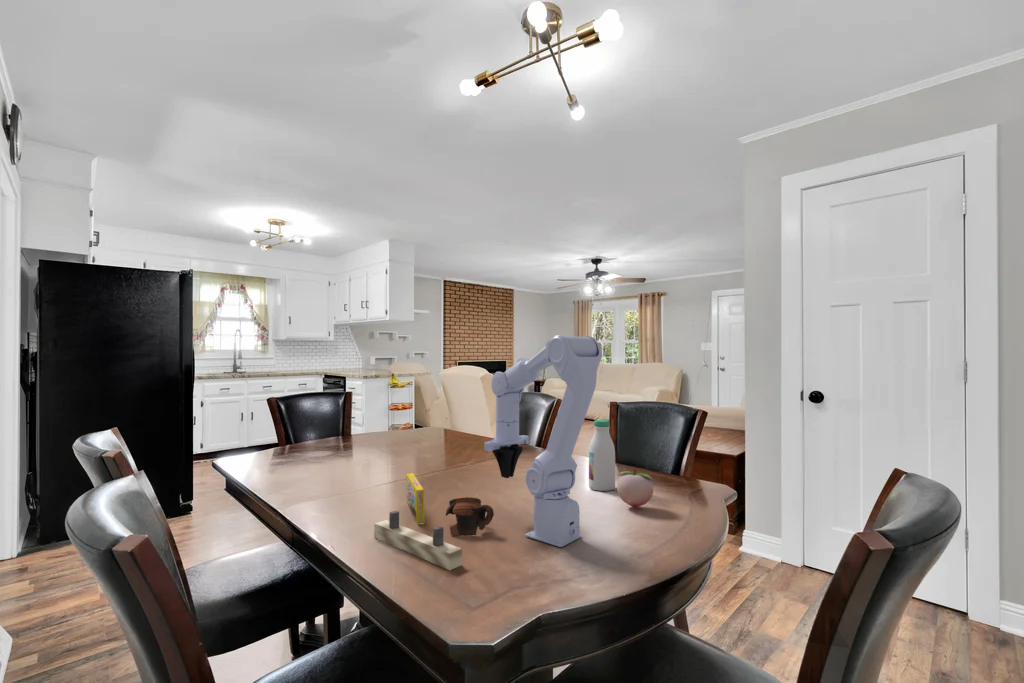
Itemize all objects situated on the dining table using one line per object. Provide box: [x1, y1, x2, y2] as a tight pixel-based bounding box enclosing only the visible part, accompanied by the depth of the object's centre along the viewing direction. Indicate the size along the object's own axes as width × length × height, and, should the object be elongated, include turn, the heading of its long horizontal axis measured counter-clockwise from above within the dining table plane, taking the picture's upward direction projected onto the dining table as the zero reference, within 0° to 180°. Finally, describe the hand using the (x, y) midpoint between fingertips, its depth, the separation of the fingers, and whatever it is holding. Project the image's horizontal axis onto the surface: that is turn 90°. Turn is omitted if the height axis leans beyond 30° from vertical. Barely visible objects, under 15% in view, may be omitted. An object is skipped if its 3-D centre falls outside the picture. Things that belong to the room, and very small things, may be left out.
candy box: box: [405, 472, 426, 525], centre depth 118 cm, size 16×2×8 cm, turn 21°
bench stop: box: [373, 510, 463, 571], centre depth 96 cm, size 24×3×6 cm, turn 49°
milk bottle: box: [588, 419, 616, 492], centre depth 142 cm, size 8×8×20 cm
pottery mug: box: [445, 496, 495, 537], centre depth 108 cm, size 12×10×8 cm
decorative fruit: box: [616, 468, 655, 509], centre depth 123 cm, size 9×8×10 cm
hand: (507, 476), depth 117 cm, fingers closed
